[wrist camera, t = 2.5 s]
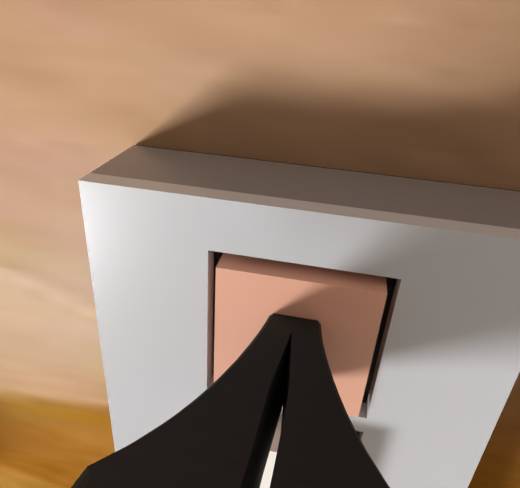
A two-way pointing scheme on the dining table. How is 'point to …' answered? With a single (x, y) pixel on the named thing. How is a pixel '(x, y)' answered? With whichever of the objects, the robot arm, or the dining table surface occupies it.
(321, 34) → the dining table surface
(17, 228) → the dining table surface
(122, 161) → the keypad base
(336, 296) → the terracotta key
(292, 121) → the dining table surface
